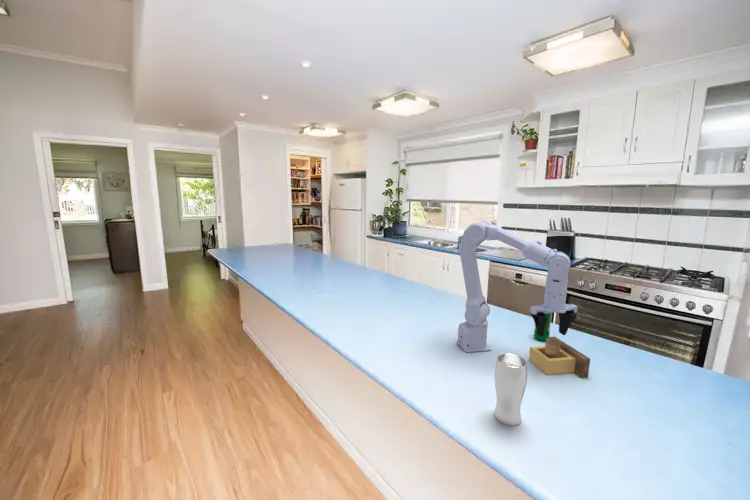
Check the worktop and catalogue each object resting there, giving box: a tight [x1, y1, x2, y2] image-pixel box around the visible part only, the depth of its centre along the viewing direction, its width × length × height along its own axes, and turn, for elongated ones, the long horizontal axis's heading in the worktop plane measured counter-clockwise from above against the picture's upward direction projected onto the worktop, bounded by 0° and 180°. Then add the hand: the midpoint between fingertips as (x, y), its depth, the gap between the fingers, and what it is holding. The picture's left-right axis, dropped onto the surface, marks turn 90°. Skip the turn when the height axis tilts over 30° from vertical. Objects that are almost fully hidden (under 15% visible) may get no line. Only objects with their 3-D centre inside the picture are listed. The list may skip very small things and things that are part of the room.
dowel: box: [544, 338, 562, 359], centre depth 101 cm, size 4×4×8 cm
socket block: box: [528, 345, 576, 376], centre depth 101 cm, size 9×9×4 cm
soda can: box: [533, 313, 553, 342], centre depth 120 cm, size 5×5×12 cm
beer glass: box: [493, 353, 528, 427], centre depth 77 cm, size 7×7×15 cm
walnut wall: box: [549, 336, 591, 379], centre depth 102 cm, size 2×15×6 cm, turn 8°
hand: (551, 334), depth 101 cm, fingers open, 7 cm apart
